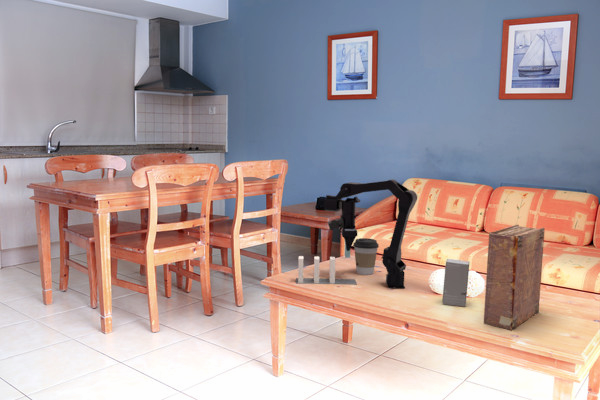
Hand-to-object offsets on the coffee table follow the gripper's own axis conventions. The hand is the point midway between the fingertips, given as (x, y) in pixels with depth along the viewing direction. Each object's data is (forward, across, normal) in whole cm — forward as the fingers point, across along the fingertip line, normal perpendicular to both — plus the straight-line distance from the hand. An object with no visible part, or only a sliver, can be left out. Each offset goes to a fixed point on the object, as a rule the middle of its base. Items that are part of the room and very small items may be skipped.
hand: (347, 249), depth 221 cm
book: (+14, +45, +52) cm, 70 cm away
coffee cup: (+13, -10, +9) cm, 19 cm away
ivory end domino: (+12, +6, -20) cm, 24 cm away
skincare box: (+13, +30, +37) cm, 50 cm away
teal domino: (+3, 0, 0) cm, 3 cm away
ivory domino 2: (+12, +6, -7) cm, 15 cm away
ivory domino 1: (+12, +6, -13) cm, 19 cm away
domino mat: (+13, +5, -9) cm, 17 cm away
